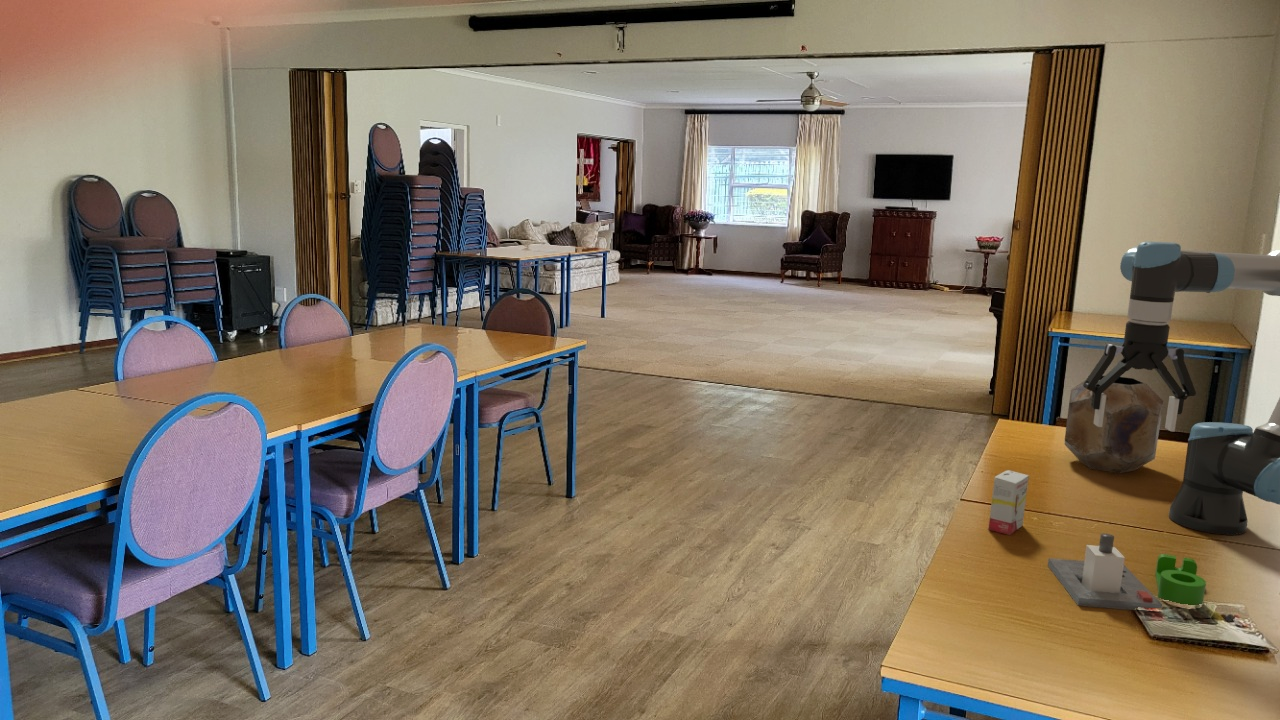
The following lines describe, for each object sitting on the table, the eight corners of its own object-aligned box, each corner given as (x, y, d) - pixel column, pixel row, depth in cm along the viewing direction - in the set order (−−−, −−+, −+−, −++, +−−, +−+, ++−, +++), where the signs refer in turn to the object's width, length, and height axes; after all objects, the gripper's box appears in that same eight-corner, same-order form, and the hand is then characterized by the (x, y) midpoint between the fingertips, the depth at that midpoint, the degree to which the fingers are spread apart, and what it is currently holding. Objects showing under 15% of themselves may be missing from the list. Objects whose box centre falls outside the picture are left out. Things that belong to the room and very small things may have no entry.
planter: (1174, 480, 243) (1187, 391, 238) (1079, 477, 243) (1091, 387, 239) (1131, 455, 265) (1143, 373, 260) (1044, 452, 265) (1054, 370, 260)
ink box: (1010, 536, 200) (1016, 483, 198) (987, 530, 203) (992, 477, 201) (1024, 525, 206) (1030, 474, 204) (1001, 520, 210) (1007, 469, 207)
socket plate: (1122, 571, 183) (1123, 561, 183) (1160, 612, 166) (1162, 601, 165) (1047, 565, 185) (1048, 555, 185) (1078, 605, 167) (1079, 594, 167)
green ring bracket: (1204, 614, 167) (1208, 589, 166) (1158, 605, 169) (1162, 581, 169) (1195, 582, 180) (1198, 560, 179) (1153, 575, 183) (1156, 552, 182)
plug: (1109, 587, 176) (1117, 531, 174) (1118, 599, 171) (1126, 541, 169) (1081, 585, 176) (1088, 529, 174) (1090, 596, 172) (1097, 539, 169)
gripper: (1207, 322, 185) (1191, 426, 189) (1074, 315, 188) (1062, 418, 192) (1225, 328, 178) (1208, 436, 182) (1087, 321, 181) (1074, 428, 185)
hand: (1133, 427), depth 187 cm, fingers open, 13 cm apart
